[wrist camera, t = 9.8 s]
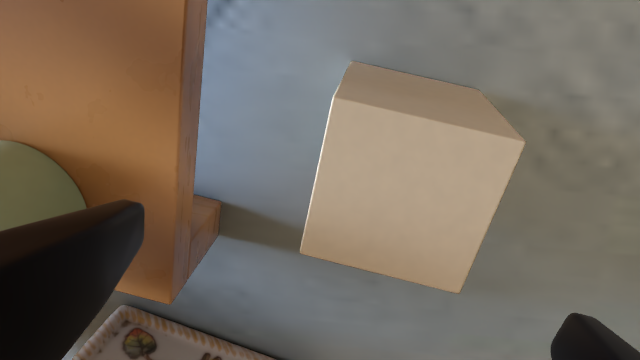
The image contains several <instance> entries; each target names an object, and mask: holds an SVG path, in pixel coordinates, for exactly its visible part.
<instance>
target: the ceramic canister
mask: <svg viewBox="0 0 640 360" xmlns="http://www.w3.org/2000/svg"><path fill="white" fill-rule="evenodd" d="M83 209H87V206H86V203H85V201H84V198H83V196H82V194H81V192H80V190H79V188H78V187H77V185H76V184H75V182H74V181H73V179H72V178H71V177H70V176H69V175H68V173H67V172H66V171H65V170H64V169H63V168H62V167H61V166H60V165H59V164H57V163H56V162H55V161H54V160H53V159H51V158H50V157H48V156H47V155H45V154H44V153H42V152H40V151H39V150H37V149H35V148H32V147H30V146H28V145H25V144H22V143H18V142H13V141H5V140H0V231H2V230H6V229H10V228H13V227H17V226H21V225H25V224H29V223H33V222H37V221H40V220H44V219H48V218H52V217H56V216H60V215H64V214H67V213H71V212H75V211H79V210H83Z"/></svg>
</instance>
